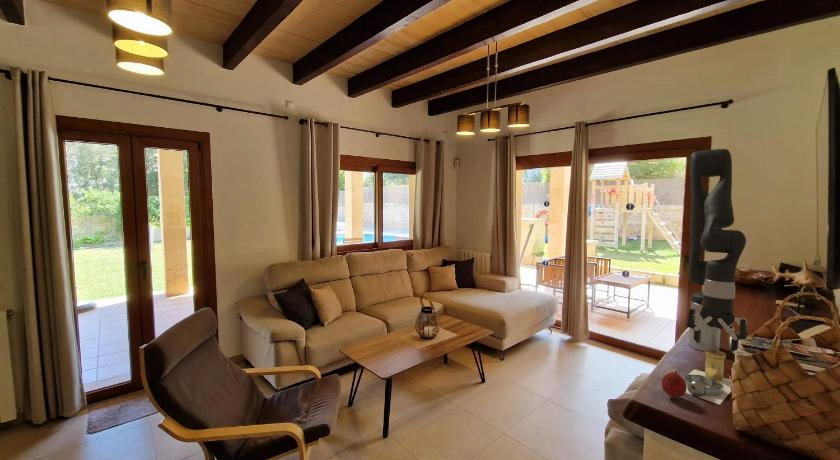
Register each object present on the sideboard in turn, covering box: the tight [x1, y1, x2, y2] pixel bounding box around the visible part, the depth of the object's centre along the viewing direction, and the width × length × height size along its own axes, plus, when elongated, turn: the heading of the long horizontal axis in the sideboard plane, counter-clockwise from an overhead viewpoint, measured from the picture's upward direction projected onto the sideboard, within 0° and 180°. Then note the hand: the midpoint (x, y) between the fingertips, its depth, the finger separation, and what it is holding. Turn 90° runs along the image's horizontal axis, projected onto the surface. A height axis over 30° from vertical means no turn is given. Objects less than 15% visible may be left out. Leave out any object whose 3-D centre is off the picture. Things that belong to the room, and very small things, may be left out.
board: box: [682, 368, 733, 408], centre depth 108 cm, size 20×11×1 cm, turn 128°
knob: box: [704, 349, 727, 381], centre depth 113 cm, size 5×5×8 cm
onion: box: [661, 369, 687, 399], centre depth 103 cm, size 6×6×8 cm
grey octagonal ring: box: [683, 373, 723, 398], centre depth 105 cm, size 11×9×4 cm
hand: (714, 346), depth 112 cm, fingers open, 8 cm apart
